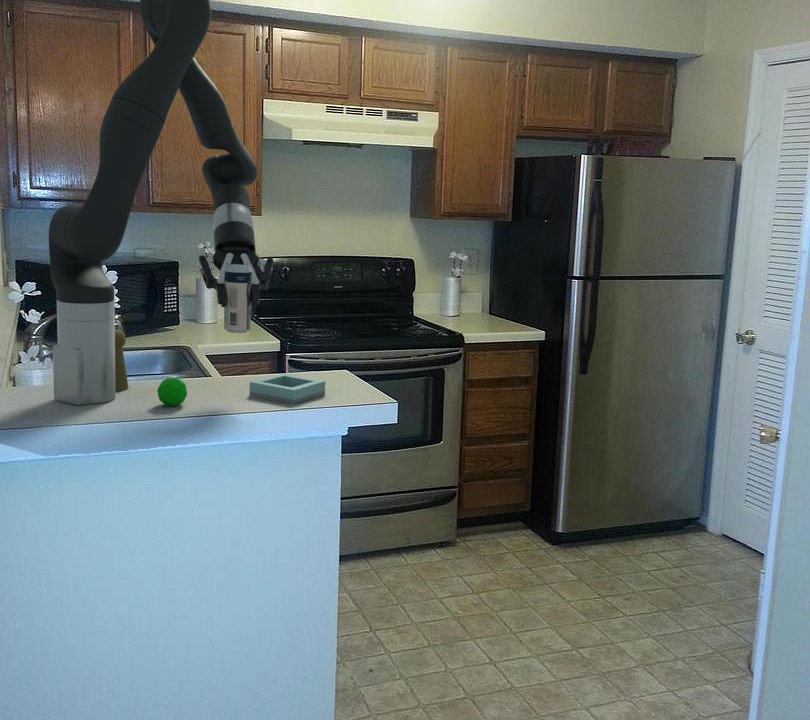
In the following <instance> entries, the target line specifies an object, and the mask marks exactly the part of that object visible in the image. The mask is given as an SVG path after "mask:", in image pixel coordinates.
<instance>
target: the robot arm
mask: <svg viewBox="0 0 810 720" xmlns="http://www.w3.org/2000/svg"><path fill="white" fill-rule="evenodd" d="M139 12H140V13H139V14H140V18H141V20H142V23H143V25H144V28H145V30H146V32H147V33H148V35H149V38H150V39H151V41H152V43H153V45H154V48H153V49H152V50H151V52H150V53H149V55H148V56H146V58H144V60H143V61H142V62H141V63H139V65H138V66H137V67H135V69H133V71H132V72H131V73H129V74H128V75H127V77H125V79H123V81H122V82H121V83H120V84H119V85H118V87H117V88H116V90H115V91H114V93H113V94H112V97H111V100H110V101H109V104H108V107H107V108H106V111H105V113H104V116H103V119H102V122H101V124H100V125H101V126H100V130H99V140H98V141H99V144H98V145H99V164H98V170H97V173H96V174H97V175H96V177H95V180H94V183H93V185H92V187H91V189H90V191H89V194H88V196H87V198H86V199H85V201H84V202H83V204H79V203H77V204H76V203H74V204H73V203H72V204H66V205H64V206H62V207H60V208H59V209H57V210H56V211H55V212H54V214H53V215H52V217H51V220H50V222H49V227H48V251H49V252H48V253H49V265H50V266H49V267H50V268H49V269H50V277H51V278H50V279H51V280H52V284H53V286H54V288H55V294H56V323H57V324H56V327H57V328H56V330H57V333H56V336H57V344H54V345H53V346H52V370H53V371H52V372H53V373H52V374H53V376H52V377H53V400H54V401H58V402H63V403H67V404H71V405H76V406H81V405H89V404H100V403H106V402H109V401H113V400H115V398H116V392H115V329H116V327H115V324H116V323H115V321H116V319H115V311H116V309H115V305H116V304H115V286H114V284H113V283H112V281H110V279H108V277H107V276H106V274H105V272H104V269H103V262H104V261H107V260H109V259H110V258H112V257H113V256H114V254H116V252H117V251H118V250H119V248H120V245H121V244H122V241H123V239H124V236H125V232H126V229H127V226H128V222H129V218H130V214H131V212H132V207H133V204H134V201H135V197H136V194H137V191H138V188H139V187H140V184H141V182H142V178H143V177H144V173H145V171H146V168H147V166H148V163H149V161H150V158H151V156H152V153H153V151H154V149H155V147H156V144H157V143H158V139H159V137H160V135H161V134H162V133H161V132H162V131H163V129H164V124H165V122H166V119H167V117H168V114H169V111H170V109H171V106H172V103H173V102H174V99H175V97H176V95H177V92H178V90H179V92H180V94H181V95H180V96H182V98H183V101H184V104H185V105H186V107H187V108H186V109H187V110H188V113H189V116H190V118H191V122H192V124H193V126H194V130H195V132H196V135H197V137H198V140H199V142H200V145H202V147H204V148H205V149H207V150H220V151H225V152H226V153H225V152H224V153H220V154H216V155H212V156H209V157H208V158H207V157H206V159H205V160H204V162H203V163H202V167H201V171H202V173H201V174H202V176H203V178H204V182H205V183H206V185H207V187H208V189H209V191H210V194H211V198H212V202H213V203H212V204H213V216H214V217H213V221H212V222H213V223H212V225H213V226H212V227H213V230H212V234H213V243H214V244H213V246H214V253H213V254H212V256H210V257H206V256H205V255H200V256H198V266H197V267H198V270H199V271H200V274H201V277H202V280H203V282H204V284H205V287H206V288H207V290H211V289H214V290H216V302H217V304H218V305H220V306H221V308H224V307H225V306H226V292H225V269H226V267H227V265H228V264H242V265H249V266H250V268H251V270H252V286H251V309H252V308H254V309H256V308H257V306H259V305H260V302H261V301H260V300H261V294H260V293H261V292H260V290H262V291H267V290H268V288H269V283H270V279H271V274H272V270H273V264H274V259H273V258H272V257H268V258H266V259H263V258H261V257H259V255H258V253H257V250H256V239H255V228H254V227H255V226H254V221H253V217H252V208H251V198H250V193H249V192H248V190H247V189H246V188H245V187H247V186H250V185H252V184H253V183H254V182H255V181H256V179H257V176H258V175H257V174H258V169H257V165H256V162H255V160H254V159H253V157H252V155H251V153H250V152H249V150H248V149H247V148H246V147H245V145H244V144H243V142H242V140H241V139H240V137H239V135H238V134H237V132H236V130H235V127H234V125H233V122H232V119H231V116H230V114H229V109H228V106H227V104H226V102H225V99H224V98H223V96H222V94H221V92H220V91H219V89H218V88H217V86H216V85H215V83H213V81H212V80H211V79H210V77H209V76H208V75H207V73H206V72H205V71H204V70H203V69H202V67H201V66H200V64H199V63H198V61H197V60H196V58H195V56H196V53H198V50H199V48H200V47H201V44H202V42H203V41H204V39H205V36H206V35H207V33H208V29H209V27H210V25H211V24H210V22H211V18H212V7H211V2H210V0H139ZM212 265H214V266H215V268H217V269H218V270H219V271H220V272H219V275H218V277H217V278H215V277H214V276H213V274H212V273H213V272H212V271H211V269H212ZM258 266H260V270H261V271H262V274H263V275H262V278H261V279H258V277H257V275H256V270H255V269H256V268H257V267H258Z"/></svg>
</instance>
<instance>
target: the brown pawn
mask: <svg viewBox="0 0 810 720" xmlns="http://www.w3.org/2000/svg"><path fill="white" fill-rule="evenodd" d="M126 339H127V338H126V333H124V331H123V330H121V329H117V328H115V393H116V392H117V393H118V392H124V391H127V390H128V389H129V381H128V376H127V375H128V374H127V369H126V362H125V356H124V349H123V348H124V346H125V344H126V341H127V340H126Z"/></svg>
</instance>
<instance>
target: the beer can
mask: <svg viewBox="0 0 810 720" xmlns="http://www.w3.org/2000/svg"><path fill="white" fill-rule="evenodd" d="M251 286H252V270H251V268H250V266H249V265H242V264H228V265H227V267H226V269H225V292H226V306H225V307H223V308H224V309H223V311H224V312H223V314H224V316H223V328H224V330H225V331H227V332H228V333H234V334H237V333H238V334H241V333H242V334H243V333H247V332H248V331H250V330H251V328H252V322H251V321H252V305H251Z"/></svg>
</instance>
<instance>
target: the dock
mask: <svg viewBox="0 0 810 720" xmlns="http://www.w3.org/2000/svg"><path fill="white" fill-rule="evenodd" d="M248 395H249V396H250V397H253V398H254V397H255V398H260V399H264V400H270V401H275V402H279V403H285V404H291V405H296V404H298V403H302V402H306V401H310V400H311V399H315V398H318V397H321V396H325V395H326V381H325V380H321V379H316V378H311V377H304V376H298V375H293V374H287V373H280V374H275V375H271V376H268V377H263V378H259V379H256V380H255V379H254V380H252V381H249V394H248Z"/></svg>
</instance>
